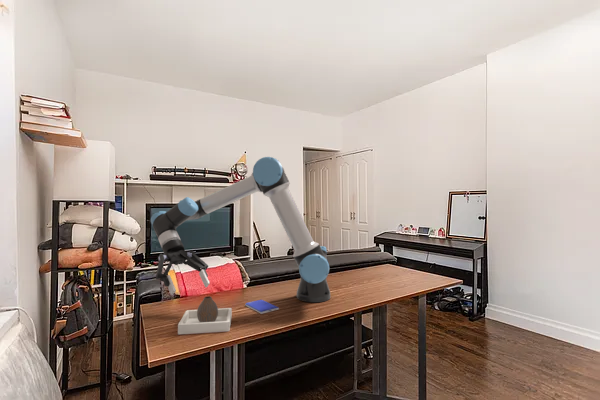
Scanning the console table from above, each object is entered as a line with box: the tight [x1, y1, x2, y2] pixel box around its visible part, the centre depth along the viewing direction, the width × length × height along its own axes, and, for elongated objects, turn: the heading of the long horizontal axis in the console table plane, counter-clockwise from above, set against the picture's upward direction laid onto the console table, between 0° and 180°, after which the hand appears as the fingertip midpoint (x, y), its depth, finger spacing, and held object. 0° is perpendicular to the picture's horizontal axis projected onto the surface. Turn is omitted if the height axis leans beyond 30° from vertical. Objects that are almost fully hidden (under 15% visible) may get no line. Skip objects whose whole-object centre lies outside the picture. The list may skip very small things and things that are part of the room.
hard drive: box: [244, 299, 280, 315], centre depth 124 cm, size 2×8×12 cm
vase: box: [196, 295, 219, 323], centre depth 106 cm, size 7×7×9 cm
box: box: [177, 307, 233, 335], centre depth 106 cm, size 16×14×3 cm
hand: (191, 288), depth 112 cm, fingers open, 13 cm apart
